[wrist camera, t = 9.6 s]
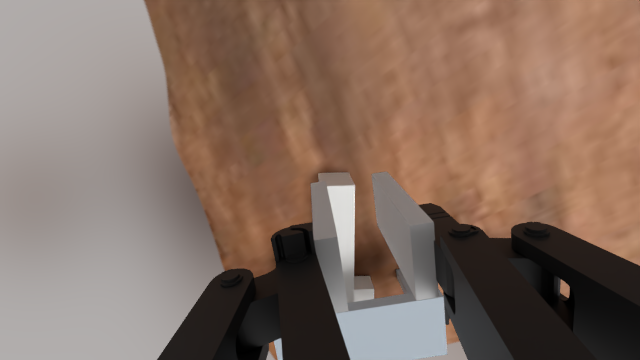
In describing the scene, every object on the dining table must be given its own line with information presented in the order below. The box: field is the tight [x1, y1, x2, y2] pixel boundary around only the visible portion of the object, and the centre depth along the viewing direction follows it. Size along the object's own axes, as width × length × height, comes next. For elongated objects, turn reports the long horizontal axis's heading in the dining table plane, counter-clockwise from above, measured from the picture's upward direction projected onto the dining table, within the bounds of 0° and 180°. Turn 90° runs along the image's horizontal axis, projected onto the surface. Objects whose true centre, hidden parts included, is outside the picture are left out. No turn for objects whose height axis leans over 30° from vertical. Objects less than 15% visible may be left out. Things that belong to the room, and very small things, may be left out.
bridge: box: [274, 269, 447, 360], centre depth 37 cm, size 6×15×13 cm, turn 99°
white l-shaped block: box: [318, 172, 374, 303], centre depth 40 cm, size 16×9×6 cm, turn 1°
